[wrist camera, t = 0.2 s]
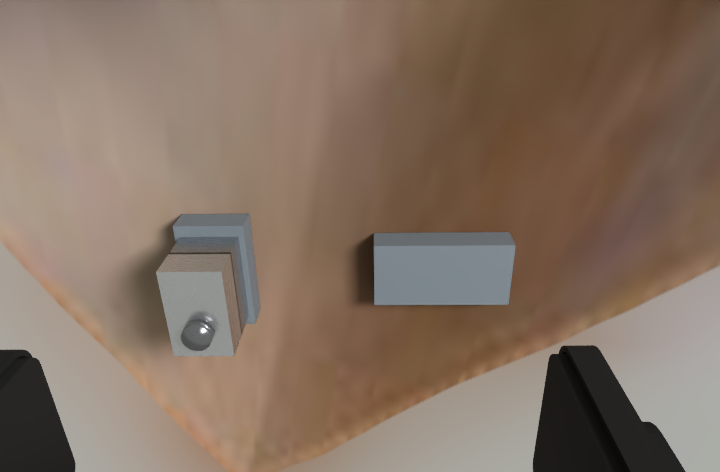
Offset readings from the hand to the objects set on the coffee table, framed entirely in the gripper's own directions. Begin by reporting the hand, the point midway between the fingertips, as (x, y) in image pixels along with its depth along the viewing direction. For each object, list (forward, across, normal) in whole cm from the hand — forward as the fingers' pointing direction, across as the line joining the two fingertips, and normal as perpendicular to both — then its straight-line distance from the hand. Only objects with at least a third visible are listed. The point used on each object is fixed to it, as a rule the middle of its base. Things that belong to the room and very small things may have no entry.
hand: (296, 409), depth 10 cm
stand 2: (+37, -7, +17) cm, 41 cm away
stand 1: (+37, +13, +17) cm, 42 cm away
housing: (+34, +13, +17) cm, 40 cm away
